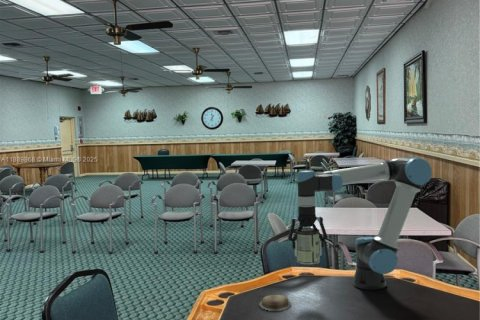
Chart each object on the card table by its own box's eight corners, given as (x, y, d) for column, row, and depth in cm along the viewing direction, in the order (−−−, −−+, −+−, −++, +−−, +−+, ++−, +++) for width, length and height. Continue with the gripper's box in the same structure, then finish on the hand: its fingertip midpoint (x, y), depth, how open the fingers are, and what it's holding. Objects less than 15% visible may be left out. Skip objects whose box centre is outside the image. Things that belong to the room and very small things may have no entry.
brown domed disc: (288, 298, 198) (288, 292, 198) (293, 310, 184) (293, 304, 184) (257, 300, 197) (257, 294, 197) (260, 312, 183) (260, 306, 183)
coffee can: (298, 257, 201) (297, 227, 200) (321, 258, 198) (320, 227, 197) (294, 264, 191) (294, 232, 190) (318, 265, 188) (317, 232, 187)
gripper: (329, 203, 197) (331, 252, 198) (280, 205, 197) (281, 254, 197) (334, 205, 190) (335, 256, 191) (282, 207, 189) (284, 258, 190)
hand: (308, 255), depth 194 cm, fingers closed on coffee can, 10 cm apart
